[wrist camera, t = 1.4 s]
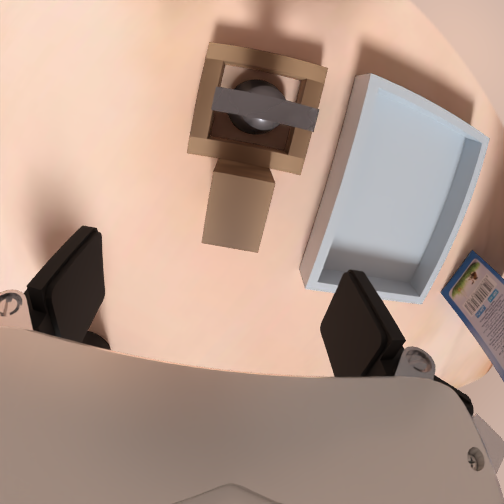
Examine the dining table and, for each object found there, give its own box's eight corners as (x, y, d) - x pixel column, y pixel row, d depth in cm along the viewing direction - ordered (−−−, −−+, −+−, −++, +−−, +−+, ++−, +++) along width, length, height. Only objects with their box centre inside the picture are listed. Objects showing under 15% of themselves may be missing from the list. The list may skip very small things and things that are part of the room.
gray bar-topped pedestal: (290, 88, 19) (327, 76, 10) (277, 138, 21) (304, 165, 12) (232, 75, 18) (223, 52, 9) (221, 127, 20) (204, 145, 11)
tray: (469, 132, 20) (489, 138, 17) (409, 286, 28) (421, 304, 25) (355, 75, 18) (371, 73, 15) (299, 269, 26) (305, 288, 23)
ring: (320, 70, 18) (347, 61, 13) (281, 221, 24) (292, 258, 19) (212, 47, 17) (201, 27, 12) (183, 204, 23) (165, 236, 18)
